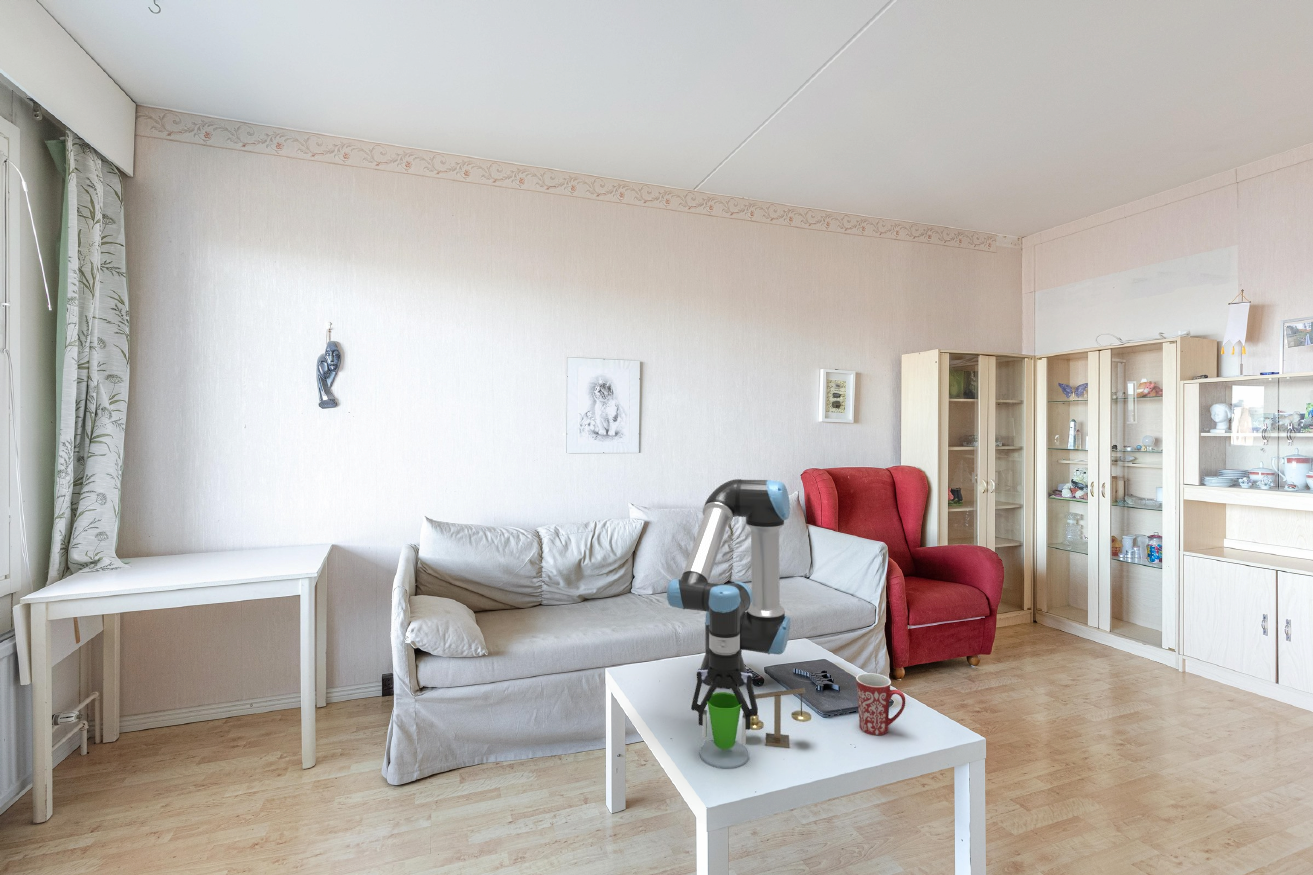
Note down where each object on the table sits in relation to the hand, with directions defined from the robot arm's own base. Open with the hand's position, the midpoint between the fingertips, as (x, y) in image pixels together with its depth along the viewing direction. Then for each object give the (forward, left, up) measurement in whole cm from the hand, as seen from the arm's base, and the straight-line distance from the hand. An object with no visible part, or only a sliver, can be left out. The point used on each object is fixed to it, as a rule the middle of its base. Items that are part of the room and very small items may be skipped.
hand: (724, 739), depth 155 cm
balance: (-9, +13, -4) cm, 16 cm away
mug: (-20, +40, -4) cm, 45 cm away
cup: (0, 0, -1) cm, 1 cm away
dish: (0, 0, -4) cm, 4 cm away
